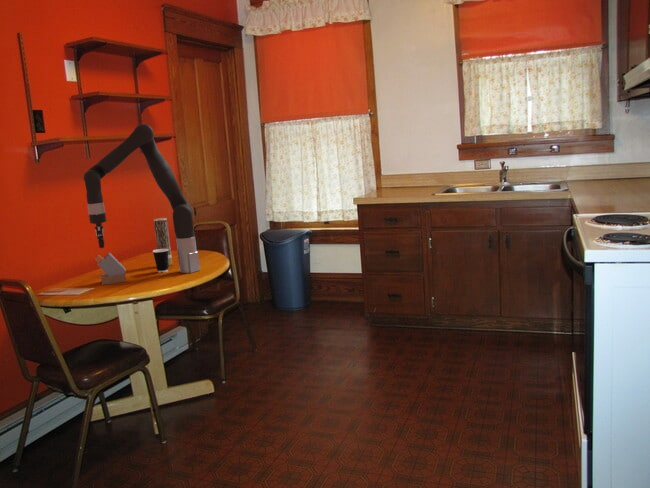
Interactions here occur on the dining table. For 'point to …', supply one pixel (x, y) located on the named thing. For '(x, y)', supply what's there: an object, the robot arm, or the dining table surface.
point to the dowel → (99, 258)
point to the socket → (112, 270)
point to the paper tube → (162, 236)
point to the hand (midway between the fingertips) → (101, 246)
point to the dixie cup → (161, 259)
